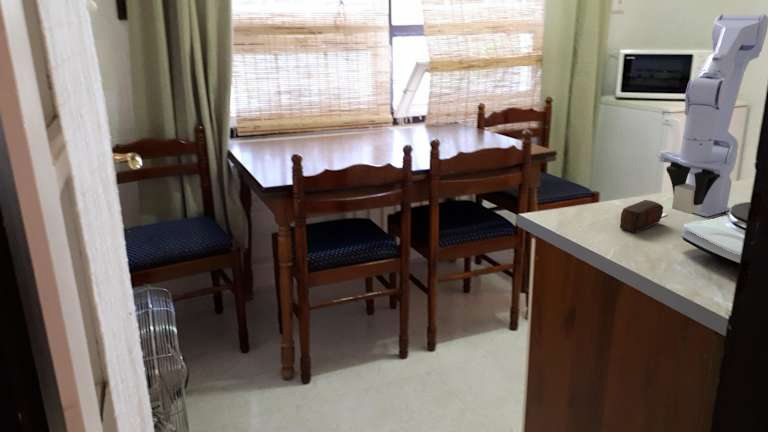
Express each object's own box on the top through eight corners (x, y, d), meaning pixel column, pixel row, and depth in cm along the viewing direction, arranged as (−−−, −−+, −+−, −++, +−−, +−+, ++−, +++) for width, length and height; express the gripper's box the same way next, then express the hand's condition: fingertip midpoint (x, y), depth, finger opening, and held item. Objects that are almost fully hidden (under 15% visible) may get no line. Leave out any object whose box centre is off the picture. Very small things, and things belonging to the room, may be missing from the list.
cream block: (683, 205, 128) (687, 183, 127) (700, 210, 125) (704, 187, 123) (671, 208, 126) (675, 186, 125) (688, 213, 123) (692, 190, 121)
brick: (636, 234, 123) (639, 212, 121) (619, 229, 126) (621, 208, 124) (661, 221, 129) (664, 201, 128) (644, 217, 132) (647, 197, 130)
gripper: (654, 134, 125) (646, 195, 129) (720, 147, 113) (708, 214, 117) (675, 130, 128) (666, 190, 133) (742, 142, 116) (729, 208, 121)
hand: (687, 201), depth 125 cm, fingers closed on cream block, 4 cm apart
